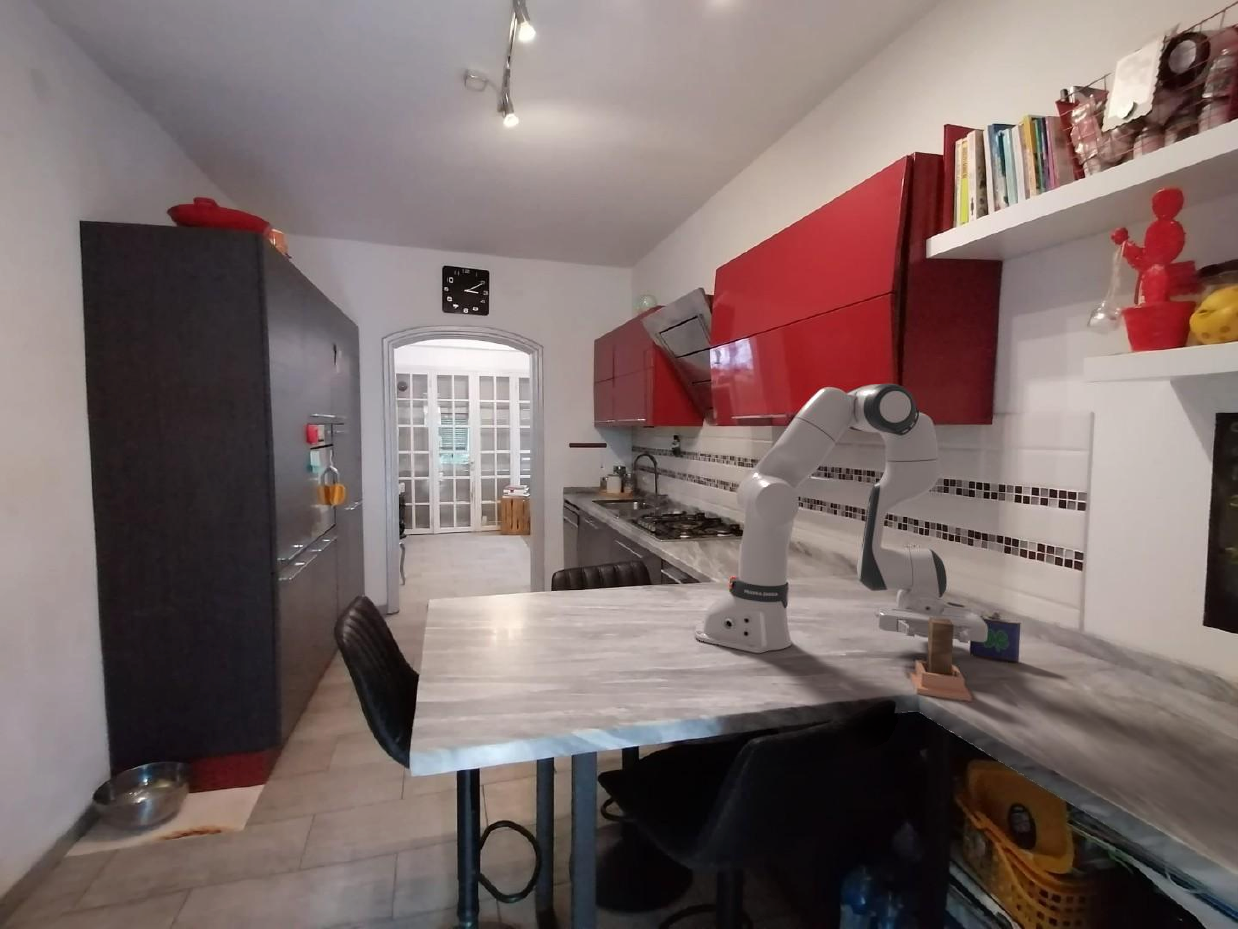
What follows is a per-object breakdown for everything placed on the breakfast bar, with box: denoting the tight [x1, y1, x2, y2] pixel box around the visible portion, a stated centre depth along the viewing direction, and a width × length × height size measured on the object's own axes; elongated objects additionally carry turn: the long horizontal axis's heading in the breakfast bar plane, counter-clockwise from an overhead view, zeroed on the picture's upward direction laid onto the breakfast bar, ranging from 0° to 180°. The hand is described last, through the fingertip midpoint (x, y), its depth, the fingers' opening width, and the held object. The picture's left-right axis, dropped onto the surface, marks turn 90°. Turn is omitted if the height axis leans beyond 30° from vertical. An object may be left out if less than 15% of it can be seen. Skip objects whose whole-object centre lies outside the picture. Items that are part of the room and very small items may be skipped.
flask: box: [969, 610, 1022, 664], centre depth 126 cm, size 9×3×11 cm, turn 63°
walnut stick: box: [926, 617, 954, 676], centre depth 110 cm, size 4×4×12 cm
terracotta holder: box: [907, 659, 973, 702], centre depth 110 cm, size 9×10×4 cm
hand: (937, 635), depth 113 cm, fingers open, 8 cm apart
